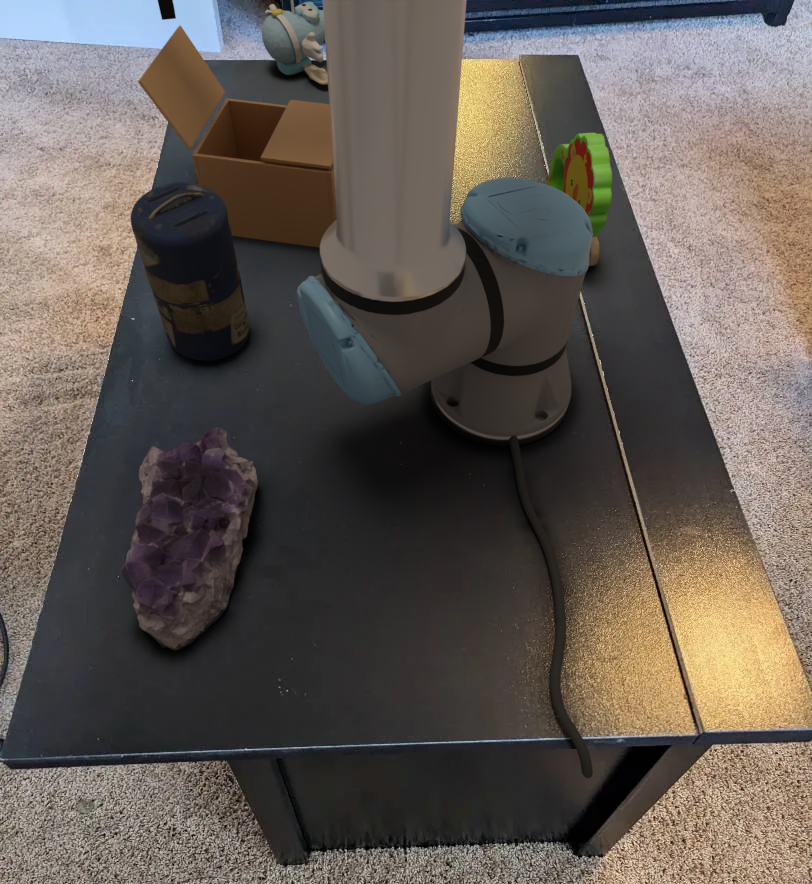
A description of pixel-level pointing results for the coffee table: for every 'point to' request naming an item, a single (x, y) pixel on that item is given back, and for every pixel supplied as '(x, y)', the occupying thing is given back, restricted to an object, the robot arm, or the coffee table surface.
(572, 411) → the coffee table surface
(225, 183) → the carton
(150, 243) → the canister
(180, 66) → the flap
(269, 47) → the toy figure
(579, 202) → the toy lion
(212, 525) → the geode
